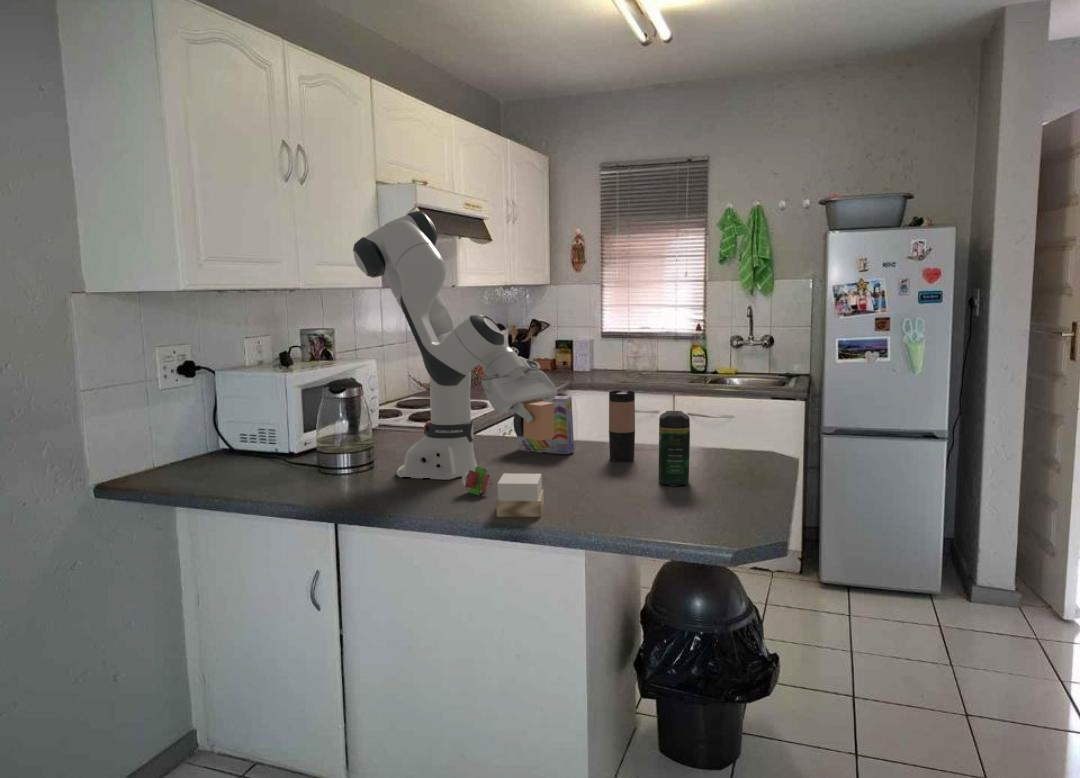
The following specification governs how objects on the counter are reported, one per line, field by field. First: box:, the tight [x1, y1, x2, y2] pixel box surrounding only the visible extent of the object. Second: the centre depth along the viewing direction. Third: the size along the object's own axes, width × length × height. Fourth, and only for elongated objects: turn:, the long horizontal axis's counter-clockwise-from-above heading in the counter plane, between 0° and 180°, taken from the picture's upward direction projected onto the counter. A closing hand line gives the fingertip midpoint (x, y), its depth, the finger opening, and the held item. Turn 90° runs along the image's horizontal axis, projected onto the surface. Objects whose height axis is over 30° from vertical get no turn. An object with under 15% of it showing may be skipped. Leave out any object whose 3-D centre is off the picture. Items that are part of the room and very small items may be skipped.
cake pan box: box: [512, 395, 575, 455], centre depth 235 cm, size 19×5×18 cm, turn 61°
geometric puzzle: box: [461, 466, 493, 497], centre depth 190 cm, size 7×7×8 cm
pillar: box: [523, 401, 554, 441], centre depth 174 cm, size 5×5×8 cm
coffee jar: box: [658, 410, 691, 487], centre depth 197 cm, size 10×8×19 cm
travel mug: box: [608, 390, 636, 462], centre depth 223 cm, size 8×8×20 cm
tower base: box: [495, 488, 545, 518], centre depth 176 cm, size 10×10×4 cm
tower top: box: [497, 472, 543, 501], centre depth 175 cm, size 9×9×4 cm
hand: (540, 419), depth 174 cm, fingers closed on pillar, 5 cm apart
